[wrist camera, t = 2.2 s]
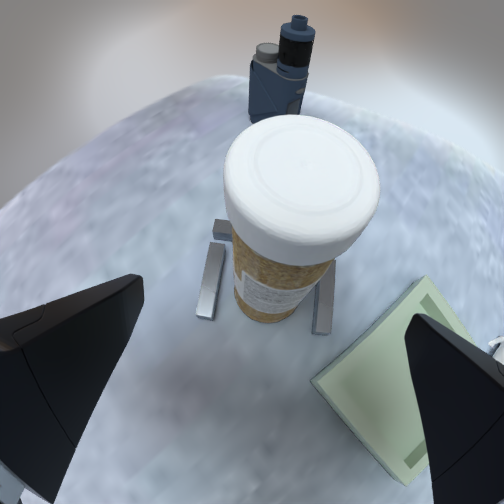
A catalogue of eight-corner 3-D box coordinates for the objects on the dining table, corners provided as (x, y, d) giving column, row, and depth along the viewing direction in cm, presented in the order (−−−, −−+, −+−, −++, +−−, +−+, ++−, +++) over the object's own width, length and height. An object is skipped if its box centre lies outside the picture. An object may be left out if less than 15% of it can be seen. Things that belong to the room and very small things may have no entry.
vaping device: (281, 148, 25) (300, 26, 14) (243, 117, 26) (245, 4, 15) (301, 136, 26) (326, 21, 15) (263, 107, 27) (272, -1, 16)
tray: (479, 377, 17) (494, 376, 16) (393, 479, 15) (406, 486, 13) (413, 282, 21) (426, 274, 19) (309, 380, 18) (317, 381, 16)
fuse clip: (325, 335, 19) (330, 333, 18) (198, 317, 19) (195, 314, 18) (331, 243, 22) (336, 236, 20) (216, 226, 22) (215, 218, 21)
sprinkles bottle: (248, 251, 21) (257, 94, 9) (309, 273, 21) (391, 139, 8) (223, 310, 20) (191, 201, 7) (288, 335, 19) (371, 266, 7)
